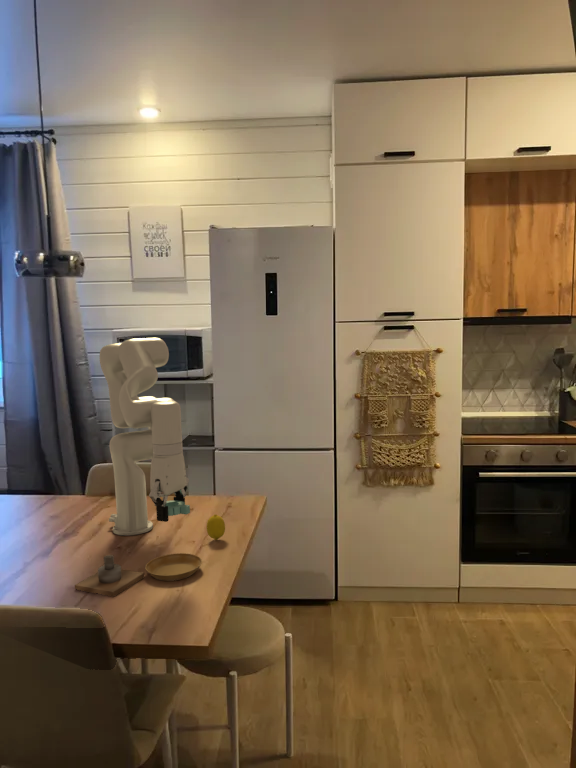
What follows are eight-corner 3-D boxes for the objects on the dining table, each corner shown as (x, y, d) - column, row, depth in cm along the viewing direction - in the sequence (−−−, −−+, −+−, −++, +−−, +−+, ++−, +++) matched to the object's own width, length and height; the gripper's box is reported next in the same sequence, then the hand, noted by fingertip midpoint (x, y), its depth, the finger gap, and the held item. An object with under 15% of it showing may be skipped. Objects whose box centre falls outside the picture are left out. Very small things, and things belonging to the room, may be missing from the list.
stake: (75, 589, 152) (73, 562, 151) (107, 571, 162) (105, 545, 162) (113, 596, 147) (111, 568, 146) (144, 577, 158) (142, 551, 157)
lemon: (222, 543, 180) (221, 517, 179) (204, 543, 181) (203, 517, 180) (228, 537, 185) (226, 511, 185) (210, 536, 187) (209, 511, 186)
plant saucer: (176, 589, 150) (175, 579, 150) (133, 578, 158) (133, 568, 158) (213, 568, 163) (213, 558, 162) (172, 558, 171) (172, 549, 170)
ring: (152, 514, 156) (151, 506, 156) (168, 506, 163) (167, 499, 163) (180, 517, 153) (180, 509, 153) (195, 509, 159) (195, 502, 159)
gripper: (174, 442, 166) (178, 505, 168) (134, 455, 150) (138, 525, 152) (198, 443, 163) (201, 508, 165) (159, 457, 147) (163, 528, 149)
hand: (171, 515), depth 158 cm, fingers closed on ring, 7 cm apart
